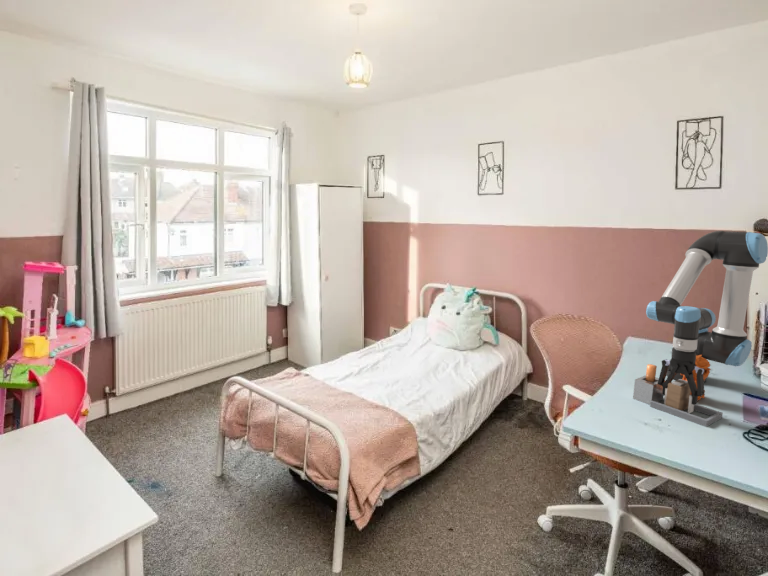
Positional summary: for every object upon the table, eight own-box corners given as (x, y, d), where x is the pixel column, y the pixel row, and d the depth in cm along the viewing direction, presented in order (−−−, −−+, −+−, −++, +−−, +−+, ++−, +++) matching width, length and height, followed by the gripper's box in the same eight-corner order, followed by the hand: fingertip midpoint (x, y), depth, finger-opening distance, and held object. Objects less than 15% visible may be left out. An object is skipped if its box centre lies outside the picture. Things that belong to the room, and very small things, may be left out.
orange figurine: (713, 404, 178) (719, 360, 174) (681, 402, 180) (687, 357, 176) (699, 393, 188) (705, 350, 185) (670, 391, 190) (675, 349, 187)
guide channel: (666, 399, 182) (667, 394, 182) (721, 417, 167) (722, 412, 166) (650, 406, 176) (650, 401, 175) (706, 426, 160) (706, 421, 160)
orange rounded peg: (648, 378, 183) (649, 363, 182) (656, 380, 180) (658, 366, 179) (643, 379, 181) (645, 365, 180) (652, 382, 179) (653, 367, 178)
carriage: (675, 403, 178) (678, 377, 176) (688, 408, 174) (691, 381, 172) (664, 408, 173) (668, 382, 171) (677, 413, 170) (681, 386, 168)
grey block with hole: (645, 393, 188) (647, 374, 186) (663, 399, 182) (665, 380, 180) (632, 398, 183) (635, 379, 181) (651, 405, 177) (653, 385, 176)
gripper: (650, 344, 176) (645, 401, 179) (711, 357, 159) (704, 420, 163) (660, 341, 180) (655, 396, 184) (721, 354, 163) (714, 415, 167)
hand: (678, 407), depth 173 cm, fingers open, 8 cm apart
